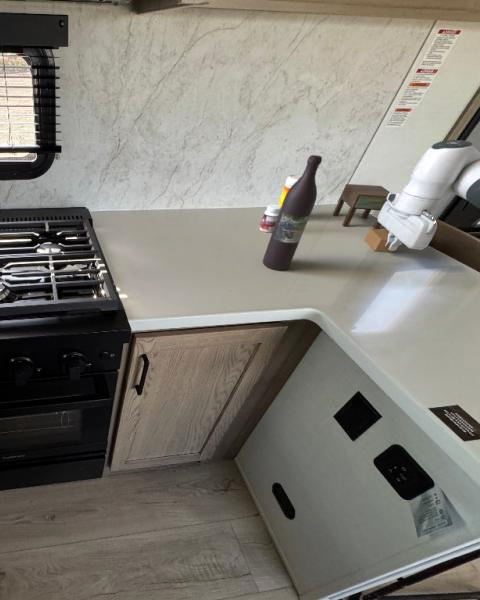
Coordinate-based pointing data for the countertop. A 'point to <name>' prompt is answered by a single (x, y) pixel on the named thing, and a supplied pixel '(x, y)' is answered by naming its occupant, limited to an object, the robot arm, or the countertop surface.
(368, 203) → the drawer table
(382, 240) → the storage box
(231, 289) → the countertop surface
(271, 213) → the pill bottle
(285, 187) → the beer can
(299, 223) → the wine bottle
